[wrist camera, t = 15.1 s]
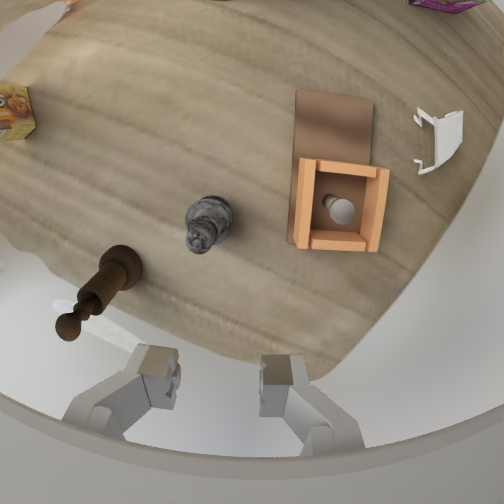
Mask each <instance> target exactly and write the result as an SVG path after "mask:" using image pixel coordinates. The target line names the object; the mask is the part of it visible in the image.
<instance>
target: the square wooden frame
mask: <svg viewBox="0 0 504 504" xmlns="http://www.w3.org/2000/svg"><path fill="white" fill-rule="evenodd" d="M315 169H317V170H319V171H324V172H334V173H343V174H351V175H359V176H367V184H366V193H365V201H364V208H363V215H362V222H361V229H360V235H358V234H357V233H356V232H342V231H326V230H310V222H311V213H312V202H313V192H314V180H315ZM389 173H390V170H389V169H385V168H381V167H377V166H370V165H363V164H356V163H348V162H340V161H332V160H323V159H310V158H302V157H300V159H299V173H298V187H297V199H296V211H295V223H294V234H293V238H294V241H295V243H296V246H297V248H300V249H308V242H309V244H310V245H311V247H312V249H322V250H343V251H364V252H365V248H366V249H367V250H368V251H369V252H377V251H378V246H379V240H380V235H381V229H382V224H383V217H384V211H385V204H386V197H387V190H388V182H389Z"/></svg>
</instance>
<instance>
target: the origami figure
mask: <svg viewBox="0 0 504 504" xmlns="http://www.w3.org/2000/svg"><path fill="white" fill-rule="evenodd" d="M417 109H418V116H419V119H418V117H417V116H416V115H414V120H415V121H416V122H417V123H418V124H419V125H420V126H421V127H423V126H422V117H423V118H424V119H426V120H427V121H428V122H430V123H431V124H432V125H434V128H435V166H432V167H429V168H426V169H423V170H422V163H423V160H417V159H414V162H416V163H420V168H419V172H418V174H419V175H423V174H425V173H428V172H430V171H432V170H434V169H436V168H438V167H439V166H440V165H441V164H443V163H444V162H445V161H447V160H448V159H449V158H451V156H452V155H453V154H454V152H455V151H456V149H457V148H458V146H459V145H460V143H462V142H463V141H462V129H463V111H464V110H463V111H458V110H457V111H455V112H452V113H449V114H445V118H441V119H437V118H436V117H435V116H434V117H433V118H432V117H430V116H429V115H428V114H427V113H425V112H424V111H423V110H422V109H420V108H418V107H417Z"/></svg>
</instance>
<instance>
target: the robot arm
mask: <svg viewBox="0 0 504 504" xmlns="http://www.w3.org/2000/svg"><path fill="white" fill-rule="evenodd" d="M178 358H179V355H178V350H177V349H176V348H169V347H161V346H155V345H146V344H140V343H139V344H138V345H137V346H136V347H135V349H134V351H133V353H132V355H131V357H130V359H129V362H128V363H127V365H126V368H125V370H124V371H119V372H117V373H116V374H114V375H112V376H110V377H109V378H107V379H105V380H104V381H102V382H100V383H98V384H97V385H95V386H93V387H91V388H90V389H88V390H86V391H85V392H83V393H81V394H79V395H77V396H75V397H74V398H73V400H72V402H71V403H70V405H69V407H68V409H67V411H66V413H65V414H64V416H63V418H62V420H58V419H56V418H53V417H51V416H48V415H46V414H44V413H41V412H39V411H37V410H34V409H32V408H30V407H28V406H26V405H24V404H22V403H20V402H18V401H15V400H14V399H12V398H10V397H8V396H6V395H4V394H2V393H0V504H504V404H503V405H500V406H498V407H496V408H493V409H491V410H489V411H487V412H485V413H483V414H480V415H478V416H475V417H473V418H471V419H468V420H466V421H463V422H460V423H458V424H455V425H452V426H449V427H447V428H444V429H441V430H438V431H435V432H431V433H428V434H425V435H421V436H418V437H414V438H411V439H407V440H403V441H399V442H395V443H390V444H386V445H381V446H376V447H371V448H365V445H364V442H363V438H362V435H361V432H360V429H359V425H358V422H357V421H356V420H355V419H354V418H353V417H351V416H350V415H349V414H348V413H347V412H345V411H344V410H343V409H342V408H340V407H339V406H338V405H337V404H336V403H334V402H333V401H332V400H331V399H330V398H328V397H327V396H326V395H325V394H324V393H322V392H321V391H320V390H319V389H318V388H317V387H316V386H314V385H310V384H309V379H308V374H307V369H306V364H305V360H304V355H303V354H289V355H288V354H261V361H260V365H261V370H260V373H259V395H260V398H259V416H260V417H283V419H284V420H285V422H286V423H287V424H288V425H289V427H290V428H291V429H292V430H293V431H294V433H295V434H296V435H297V436H298V438H299V439H300V440H301V441H302V442H303V443H304V447H303V449H302V451H301V454H300V456H296V457H232V456H217V455H206V454H196V453H189V452H181V451H175V450H168V449H162V448H157V447H152V446H147V445H142V444H137V443H133V442H129V441H126V440H125V438H124V436H123V433H124V432H125V431H126V430H127V429H128V428H129V427H131V426H132V425H133V424H134V423H135V422H136V421H138V420H139V419H140V418H141V417H142V416H143V415H144V414H146V412H148V411H149V410H150V409H151V407H154V408H161V409H169V410H173V408H174V405H175V401H176V392H175V391H176V390H177V389H178V388H179V385H180V380H181V368H180V365H179V364H178V362H177V361H178Z"/></svg>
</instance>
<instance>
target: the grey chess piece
mask: <svg viewBox="0 0 504 504" xmlns="http://www.w3.org/2000/svg"><path fill="white" fill-rule="evenodd" d="M185 225H186V229H187V231H188V233H187V235H186V245H187V247H188V249H189V250H190V251H191V252H193V253H195V254H204V253H206V252H207V251H209V250H210V248H211V247H212V245H215V244H218V243H221V242H222V241H224V240H225V239H226V238H227V237H228V236H229V234H230V232H231V230H232V226H233V219H232V210H231V207H230V205H229V204H228V203H227V202H226V201H225V200H224V199H223V198H220V197H218V196H207V197H204V198H202V199H201V200H199V201H197V202H195V203H194V204H192V205H191V207H190V208H189V209H188V211H187V214H186V218H185Z"/></svg>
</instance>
